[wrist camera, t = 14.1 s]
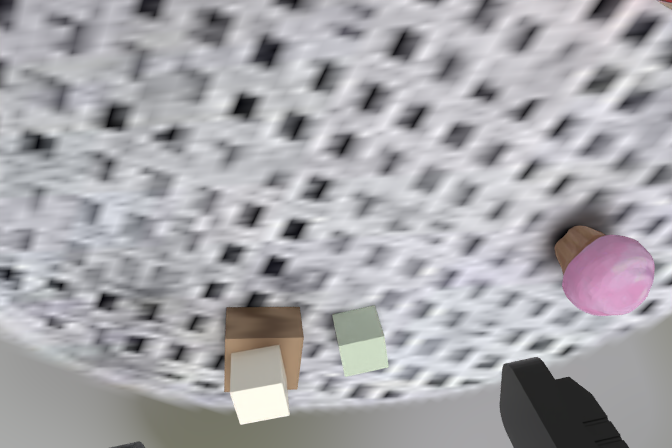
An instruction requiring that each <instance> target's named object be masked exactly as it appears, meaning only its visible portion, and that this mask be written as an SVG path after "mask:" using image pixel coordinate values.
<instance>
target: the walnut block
mask: <svg viewBox="0 0 672 448" xmlns="http://www.w3.org/2000/svg"><path fill="white" fill-rule="evenodd" d="M303 339H304V336H303V329H302V321H301V314H300V307H227V308H226V331H225V386H224V392H230V375H231V353H236V352H242V351H247V350H253V349H258V348H264V347H270V346H275V345H279V347H280V351H281V355H282V360H283V364H284V369H285V373H286V379H287V390H291V389H297V387H298V379H299V371H300V363H301V355H302V347H303Z"/></svg>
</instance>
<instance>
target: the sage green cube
mask: <svg viewBox="0 0 672 448" xmlns="http://www.w3.org/2000/svg"><path fill="white" fill-rule="evenodd" d="M332 317H333V322H334V326H335V331H336V336H337V341H338V346H339V350H340V355H341V360H342V365H343V370H344V374H345V377H347V376H351V375H356V374H360V373H365V372H369V371H374V370H378V369H383V368H387V367H388V360H387V352H386V345H385V337H384V334H383V330H382V327H381V324H380V321H379V318H378V315H377V311H376V308H375V305H374V306H370V307H365V308H360V309H356V310H351V311H347V312H342V313H337V314H333V315H332Z"/></svg>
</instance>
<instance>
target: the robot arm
mask: <svg viewBox="0 0 672 448" xmlns="http://www.w3.org/2000/svg"><path fill="white" fill-rule="evenodd" d="M500 413H501V417H502V421H503V424H504V427H505V430H506V432H507V434H508V436H509V439H510V441H511V443H512V445H513V447H514V448H629V447H628V445H627V444H626V443H625V441H624V440H622V439H621V437H620V434H619V433H618V431H617V430H616V428H615V427H614V425H613V424H612V423H611V421H609V420H608V418H607V415H606V414H605V412H604V411H603V410H602V408H601V407H600V405H599V404H598V402H597V401H596V400H595V398H594V397H593V395H592V394H591V393H590V392H588V391H587V390H586V389H584V388H583V387H582V386H580V385H579V384H578V383H577V382H575V381H574V380H573V379H571V378H570V377H566V378H561V379H556V380H555V379H554V378H553V376H552V374H551V373H550V371H549V370H548V368H547V367H546V365H545V364H544V362H543V361H542V360H541V359H540V358H538V357H534V358H529V359H525V360H520V361H515V362H511V363H506V364H504V365H503V368H502V381H501V394H500ZM111 448H145V447H144V445H143V444H142V443H141V442H134V443H130V444H125V445H120V446H116V447H111Z"/></svg>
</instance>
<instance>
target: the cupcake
mask: <svg viewBox="0 0 672 448" xmlns="http://www.w3.org/2000/svg"><path fill="white" fill-rule="evenodd" d="M555 254H556V257H557V259H558V262H559V264H560V266H561V268H562V271H563V275H564V276H563V283H562V287H563V290H564V292H565V294H566V296H567V298H568V299H569V300H570V301H571V302H572V303H573V304H574V305H575V306H576V307H577V308H579V309H580V310H582V311H584V312H586V313H589V314H592V315H597V316H609V315H623V314H626V313H629V312H631V311H633V310H634V309H636V308H637V307H638V306H639V305H640V304H641V303H642V302H643V301H644V300H645V299H646V297H647V296H648V293H649V291H650V288H651V286H652V283H653V279H654V268H655V267H654V261H653V258H652V256H651V254H650V253H649V252H648V251H647V250H646V249H645V248H644V247H643V246H642V245H641V244H640V243H639V242H638V241H636V240H634V239H631V238H628V237H624V236H619V235H605V234H603V233H602V232H600V231H596V230H594V229H592V228H589V227H587V226H575V227H572V228H571V229H569V230H568V232H567V234H566V235H565V236H564V237H563V238H561V239H560V240H559V241H558V242H557V243H556V244H555Z"/></svg>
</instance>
